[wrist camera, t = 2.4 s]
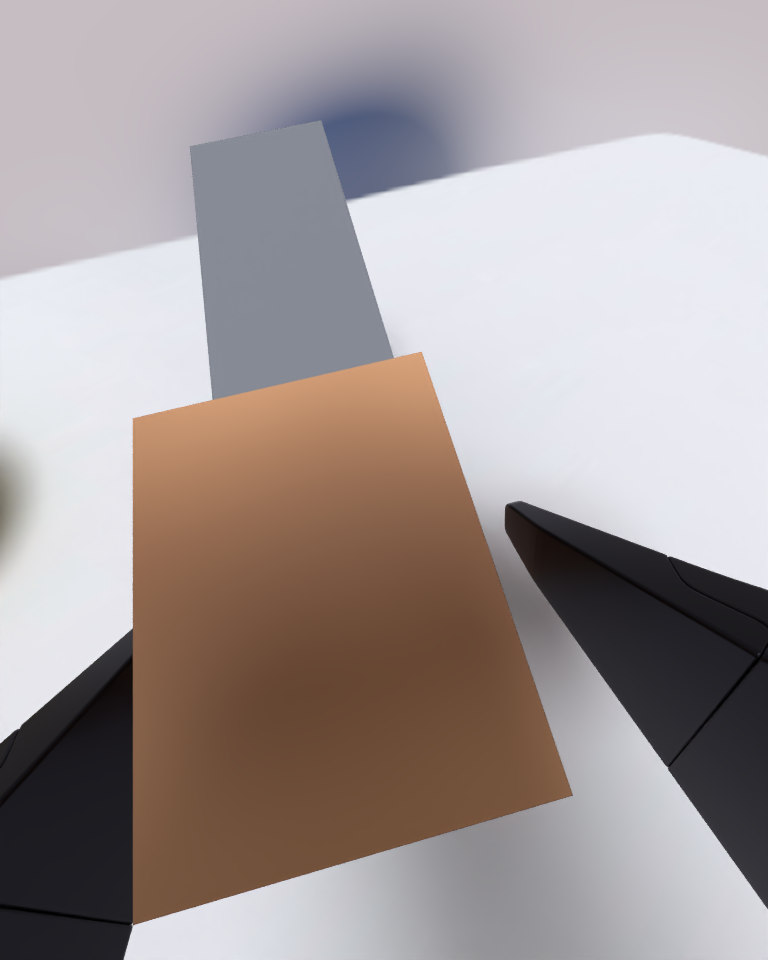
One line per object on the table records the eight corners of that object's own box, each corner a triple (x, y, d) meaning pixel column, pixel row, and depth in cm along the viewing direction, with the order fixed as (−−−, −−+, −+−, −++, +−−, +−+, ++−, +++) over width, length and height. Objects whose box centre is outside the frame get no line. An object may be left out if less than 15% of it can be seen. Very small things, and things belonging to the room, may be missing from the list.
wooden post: (424, 603, 15) (572, 795, 3) (350, 623, 15) (132, 926, 2) (400, 511, 16) (421, 352, 4) (332, 528, 16) (132, 418, 4)
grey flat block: (402, 505, 17) (418, 404, 6) (327, 524, 16) (207, 454, 6) (363, 361, 19) (327, 119, 9) (299, 376, 19) (183, 147, 9)
